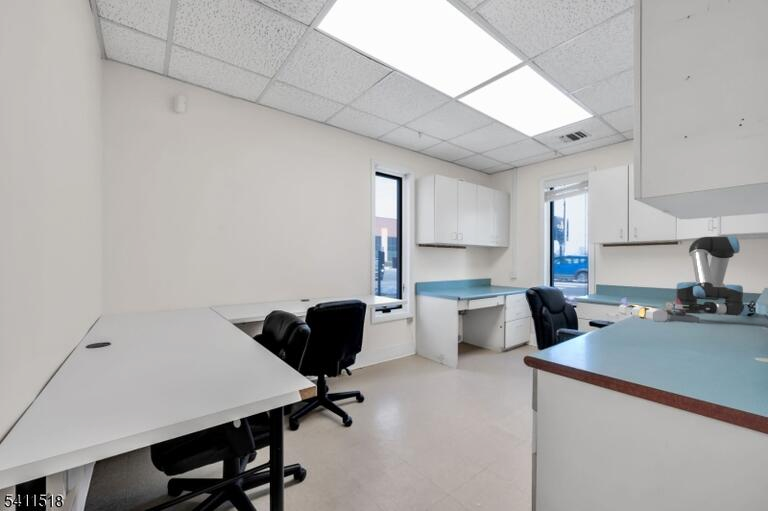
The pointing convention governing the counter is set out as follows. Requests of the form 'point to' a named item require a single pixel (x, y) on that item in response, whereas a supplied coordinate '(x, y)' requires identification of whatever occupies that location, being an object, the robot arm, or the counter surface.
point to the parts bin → (683, 318)
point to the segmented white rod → (643, 311)
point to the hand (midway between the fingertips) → (671, 305)
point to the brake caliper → (672, 310)
